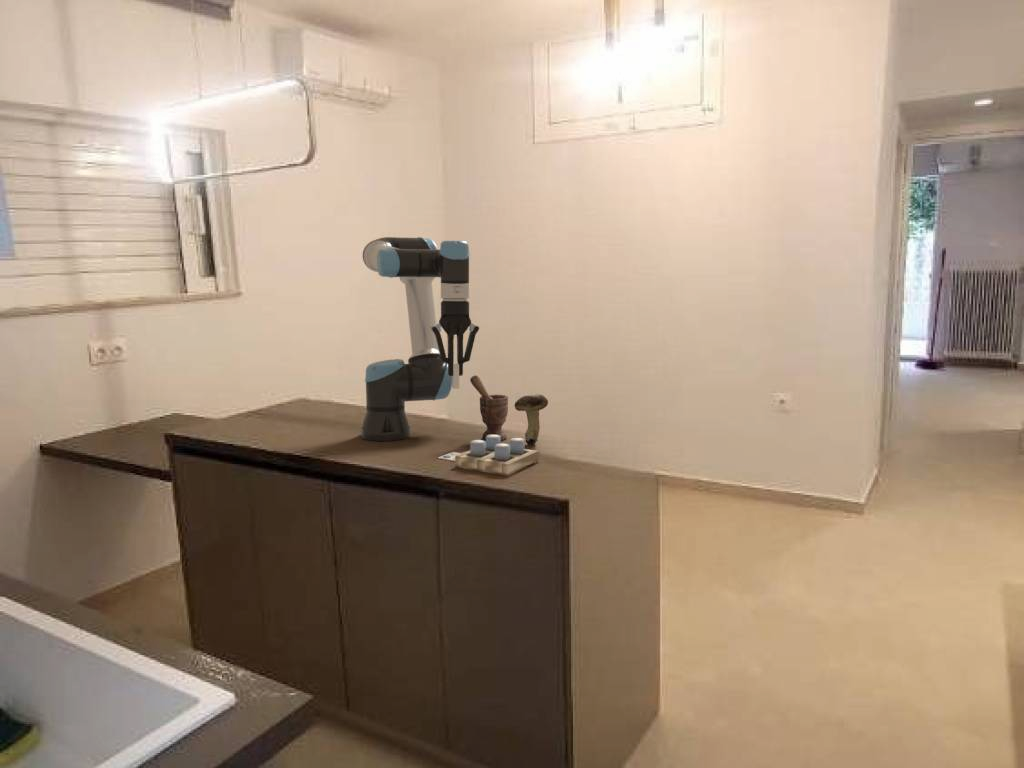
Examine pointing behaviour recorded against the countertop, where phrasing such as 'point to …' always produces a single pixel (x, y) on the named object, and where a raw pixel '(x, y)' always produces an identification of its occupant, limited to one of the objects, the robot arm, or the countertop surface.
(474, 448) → the button
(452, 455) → the card
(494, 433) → the mortar and pestle
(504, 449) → the button
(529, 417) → the mushroom
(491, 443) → the button
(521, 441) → the button
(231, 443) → the countertop surface
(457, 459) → the wooden compartment tray
